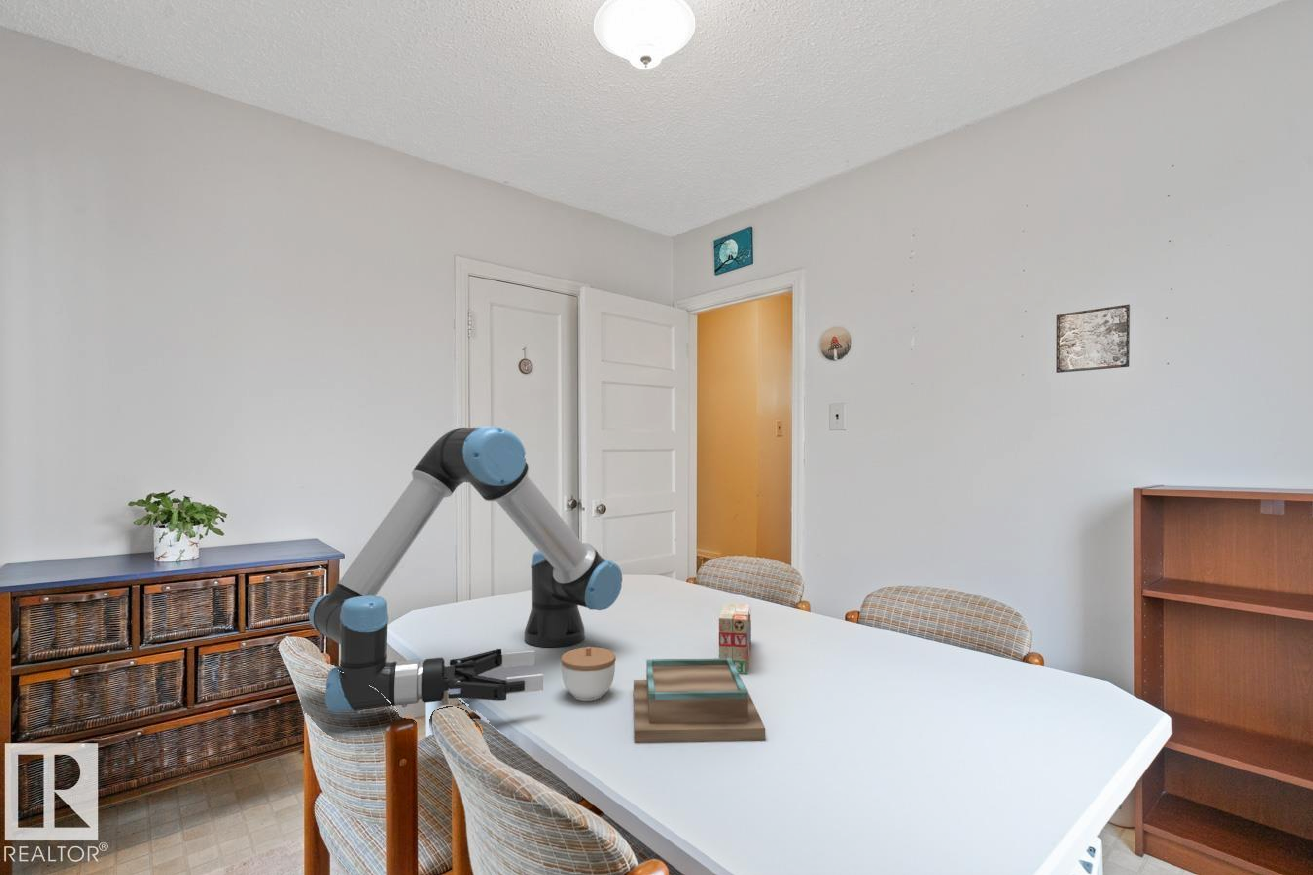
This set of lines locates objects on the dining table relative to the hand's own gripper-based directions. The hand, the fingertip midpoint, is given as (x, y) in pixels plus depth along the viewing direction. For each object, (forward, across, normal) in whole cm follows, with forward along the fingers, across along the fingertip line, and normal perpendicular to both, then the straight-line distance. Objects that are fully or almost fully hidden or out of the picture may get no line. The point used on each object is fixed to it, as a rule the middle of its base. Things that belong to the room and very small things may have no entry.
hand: (538, 668), depth 119 cm
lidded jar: (+10, 0, -6) cm, 12 cm away
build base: (+27, +14, -6) cm, 31 cm away
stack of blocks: (+47, -11, -6) cm, 49 cm away
